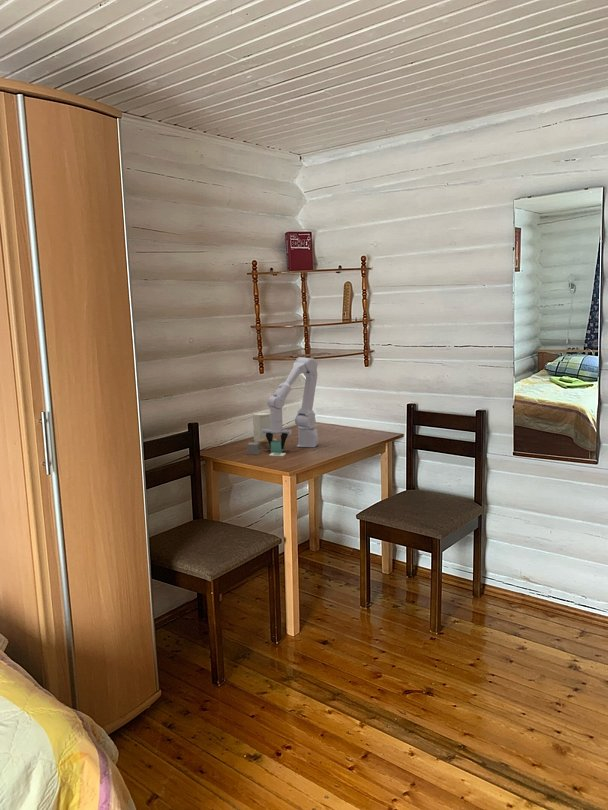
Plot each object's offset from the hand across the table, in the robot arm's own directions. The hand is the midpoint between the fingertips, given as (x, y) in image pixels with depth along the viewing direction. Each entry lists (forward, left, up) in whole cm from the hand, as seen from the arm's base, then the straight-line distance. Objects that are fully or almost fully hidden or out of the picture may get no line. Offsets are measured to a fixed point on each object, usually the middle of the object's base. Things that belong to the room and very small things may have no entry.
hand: (277, 448), depth 318 cm
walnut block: (+7, -8, -2) cm, 11 cm away
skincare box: (+13, -20, -2) cm, 24 cm away
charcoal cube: (+10, +6, -2) cm, 12 cm away
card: (-2, +7, -1) cm, 7 cm away
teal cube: (0, 0, -1) cm, 1 cm away
